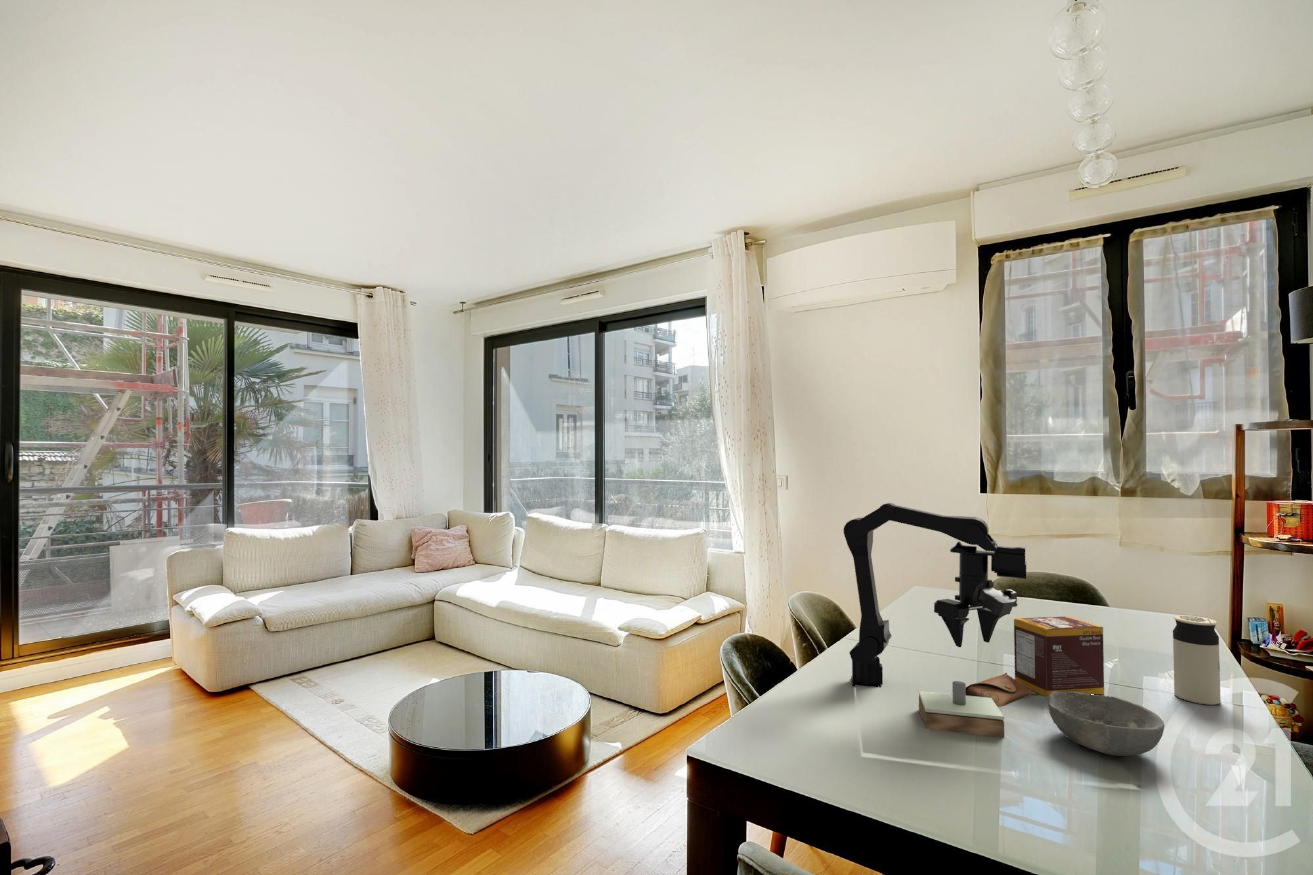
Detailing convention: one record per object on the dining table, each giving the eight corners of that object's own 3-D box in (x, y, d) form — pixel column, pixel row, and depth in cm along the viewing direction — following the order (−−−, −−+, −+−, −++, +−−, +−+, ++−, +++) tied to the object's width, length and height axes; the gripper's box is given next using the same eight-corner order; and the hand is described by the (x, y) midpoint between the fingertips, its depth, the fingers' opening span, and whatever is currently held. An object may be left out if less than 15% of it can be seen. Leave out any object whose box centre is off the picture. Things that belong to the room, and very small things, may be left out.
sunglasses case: (1001, 711, 135) (984, 680, 138) (973, 719, 139) (958, 688, 142) (1040, 694, 145) (1024, 665, 148) (1013, 702, 150) (998, 673, 153)
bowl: (1172, 783, 105) (1171, 734, 105) (1048, 756, 114) (1047, 712, 115) (1157, 743, 120) (1156, 700, 121) (1048, 722, 130) (1047, 682, 130)
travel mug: (1173, 699, 143) (1171, 619, 143) (1175, 690, 148) (1173, 613, 149) (1220, 708, 137) (1217, 625, 138) (1221, 698, 143) (1218, 618, 144)
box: (925, 731, 125) (925, 713, 125) (919, 712, 134) (918, 695, 134) (1004, 740, 121) (1004, 721, 121) (991, 719, 131) (991, 702, 131)
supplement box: (1105, 694, 145) (1104, 626, 146) (1046, 698, 143) (1045, 628, 144) (1069, 679, 156) (1068, 615, 156) (1013, 682, 153) (1012, 617, 154)
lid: (925, 711, 125) (925, 688, 125) (918, 693, 134) (918, 671, 135) (1004, 719, 121) (1003, 695, 121) (991, 700, 131) (990, 678, 131)
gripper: (978, 584, 129) (977, 660, 129) (1035, 578, 138) (1034, 649, 137) (932, 574, 139) (931, 645, 139) (988, 569, 148) (987, 636, 147)
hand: (972, 644), depth 140 cm, fingers open, 9 cm apart
